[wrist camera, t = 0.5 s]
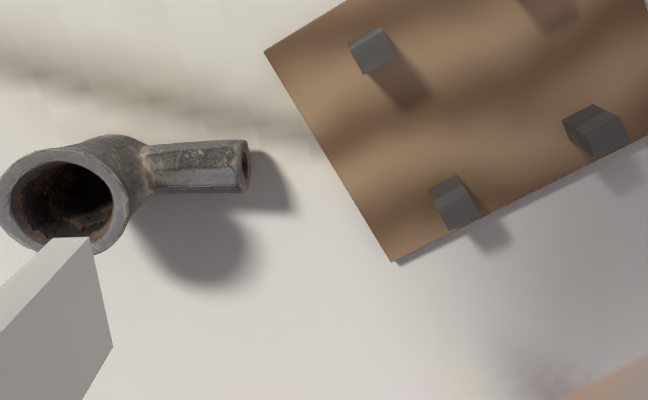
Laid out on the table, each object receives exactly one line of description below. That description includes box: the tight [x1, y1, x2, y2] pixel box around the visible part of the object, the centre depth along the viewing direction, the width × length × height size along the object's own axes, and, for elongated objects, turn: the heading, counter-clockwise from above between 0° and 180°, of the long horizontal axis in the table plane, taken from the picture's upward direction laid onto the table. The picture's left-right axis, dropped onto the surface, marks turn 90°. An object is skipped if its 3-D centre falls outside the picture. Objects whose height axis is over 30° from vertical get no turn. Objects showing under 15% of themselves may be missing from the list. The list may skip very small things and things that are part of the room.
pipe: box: [0, 135, 251, 255], centre depth 32 cm, size 6×13×8 cm, turn 95°
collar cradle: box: [264, 0, 648, 262], centre depth 32 cm, size 16×20×4 cm
